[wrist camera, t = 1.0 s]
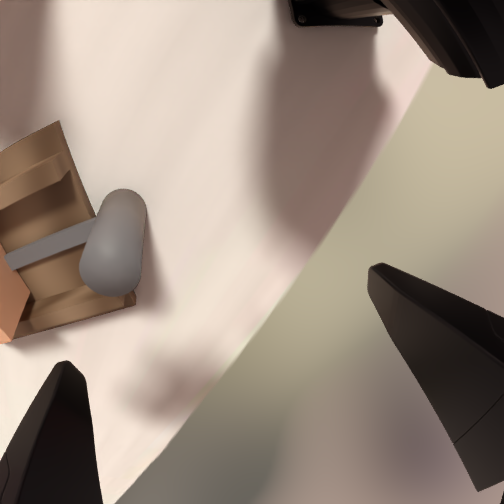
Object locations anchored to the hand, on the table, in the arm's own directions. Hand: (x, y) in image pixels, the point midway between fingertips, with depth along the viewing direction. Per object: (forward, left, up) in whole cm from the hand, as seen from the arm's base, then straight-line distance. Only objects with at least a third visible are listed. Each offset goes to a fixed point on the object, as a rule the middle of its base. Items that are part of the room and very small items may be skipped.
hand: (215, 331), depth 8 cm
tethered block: (+11, +1, -13) cm, 17 cm away
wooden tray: (+13, +1, -13) cm, 19 cm away
